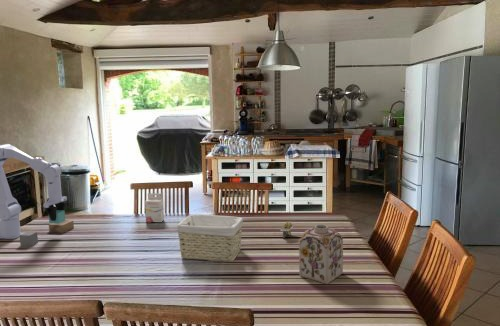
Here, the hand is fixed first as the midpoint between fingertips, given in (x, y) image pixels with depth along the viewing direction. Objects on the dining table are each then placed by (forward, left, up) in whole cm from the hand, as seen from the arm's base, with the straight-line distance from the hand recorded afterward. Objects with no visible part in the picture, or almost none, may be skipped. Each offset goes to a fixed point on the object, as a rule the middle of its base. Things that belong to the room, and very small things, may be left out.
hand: (57, 218), depth 196 cm
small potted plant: (+109, +10, -9) cm, 109 cm away
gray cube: (-6, -12, -8) cm, 16 cm away
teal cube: (0, 0, -1) cm, 1 cm away
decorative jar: (+124, -30, -9) cm, 128 cm away
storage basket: (+80, -16, -9) cm, 82 cm away
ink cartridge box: (+38, +27, -9) cm, 47 cm away
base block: (-4, +9, -9) cm, 13 cm away
